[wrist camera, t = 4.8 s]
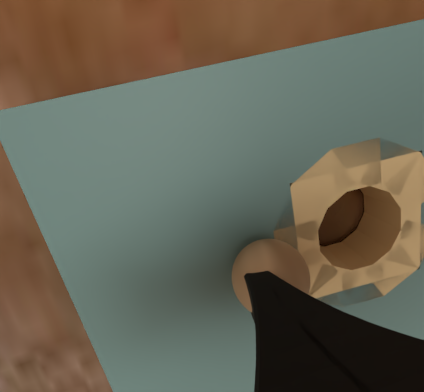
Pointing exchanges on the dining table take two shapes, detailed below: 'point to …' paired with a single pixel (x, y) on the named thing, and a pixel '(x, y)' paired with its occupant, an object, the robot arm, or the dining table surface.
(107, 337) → the hole board
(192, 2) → the dining table surface
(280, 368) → the robot arm
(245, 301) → the maple ball
